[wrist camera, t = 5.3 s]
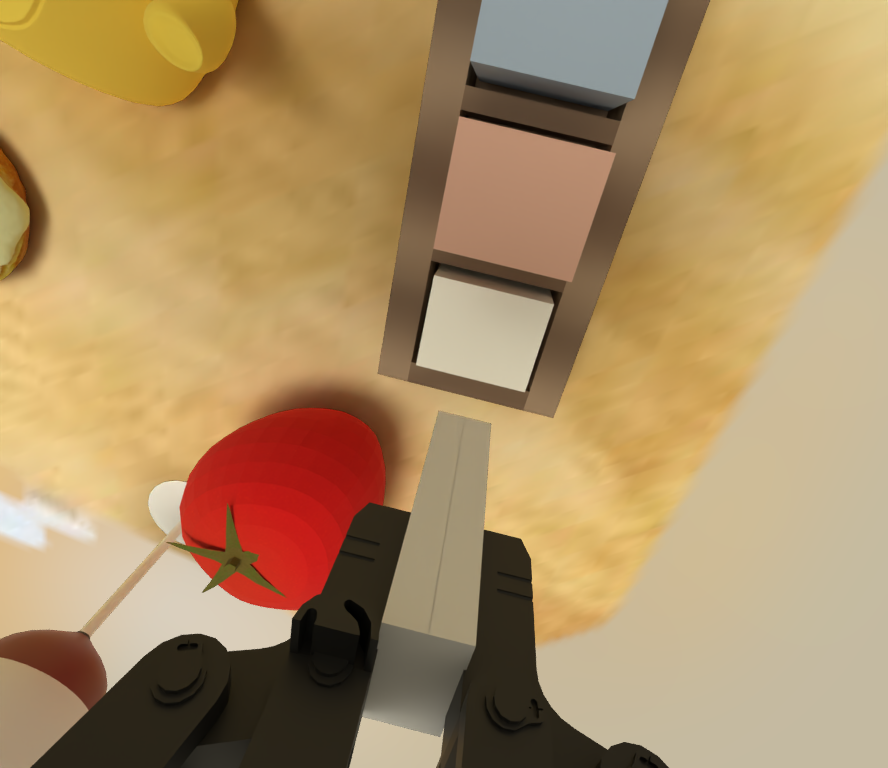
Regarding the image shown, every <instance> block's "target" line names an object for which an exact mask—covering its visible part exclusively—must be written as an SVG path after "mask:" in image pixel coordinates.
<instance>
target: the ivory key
mask: <svg viewBox="0 0 888 768" xmlns="http://www.w3.org/2000/svg"><path fill="white" fill-rule="evenodd" d="M553 306H554V303H553V299H552V295H551V292H550V289H546V288H542V287H538V286H534V285H530V284H526V283H522V282H517V281H513V280H509V279H505V278H501V277H497V276H493V275H489V274H485V273H481V272H477V271H472V270H468V269H464V268H460V267H456V266H452V265H448V264H444V263H442V264H441V265H440V267H439V269H438V270H437V272H436V273H435V275H434V278H433V283H432V288H431V293H430V298H429V303H428V308H427V313H426V318H425V323H424V328H423V333H422V338H421V343H420V348H419V352H418V357H417V362H416V365H417V366H421V367H425V368H429V369H433V370H437V371H441V372H445V373H449V374H453V375H457V376H461V377H465V378H469V379H473V380H477V381H481V382H485V383H489V384H493V385H497V386H501V387H505V388H509V389H513V390H517V391H521V392H525V390H526V387H527V384H528V381H529V378H530V375H531V372H532V369H533V366H534V363H535V360H536V357H537V354H538V351H539V348H540V345H541V342H542V339H543V336H544V333H545V330H546V327H547V324H548V321H549V318H550V315H551V312H552V309H553Z"/></svg>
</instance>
